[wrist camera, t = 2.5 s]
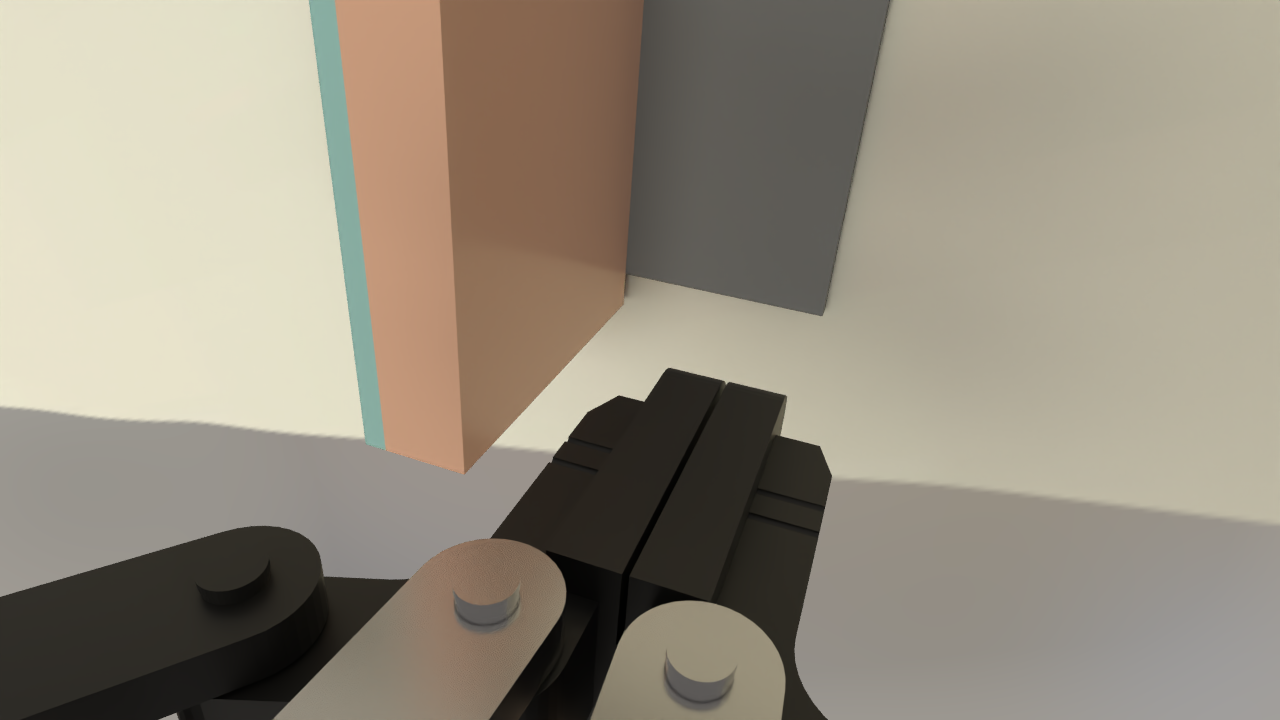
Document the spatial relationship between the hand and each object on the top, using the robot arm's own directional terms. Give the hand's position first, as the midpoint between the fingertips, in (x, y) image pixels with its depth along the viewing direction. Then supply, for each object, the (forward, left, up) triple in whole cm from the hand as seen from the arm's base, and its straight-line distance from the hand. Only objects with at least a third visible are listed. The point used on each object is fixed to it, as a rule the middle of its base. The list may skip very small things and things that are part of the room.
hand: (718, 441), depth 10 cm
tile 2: (+7, 0, -12) cm, 14 cm away
